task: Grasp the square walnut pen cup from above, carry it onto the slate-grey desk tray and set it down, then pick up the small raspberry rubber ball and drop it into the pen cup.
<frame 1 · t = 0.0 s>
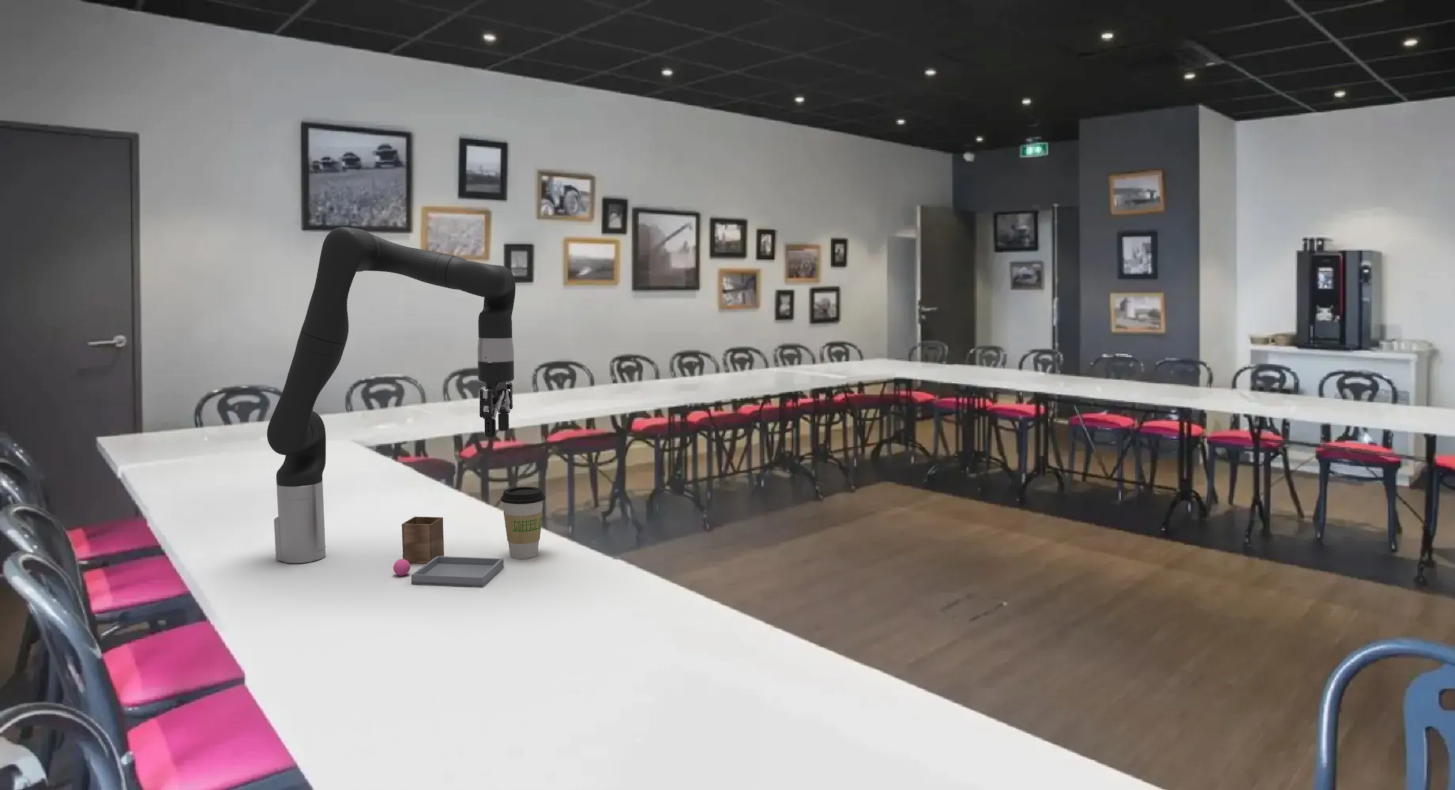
hand: (497, 433, 191), 29 cm above the table, fingers open, 8 cm apart
tray: (459, 575, 186), on the table
ball: (401, 567, 186), point 2 cm above the table
pen cup: (423, 559, 197), on the table
coffee cup: (523, 555, 202), on the table
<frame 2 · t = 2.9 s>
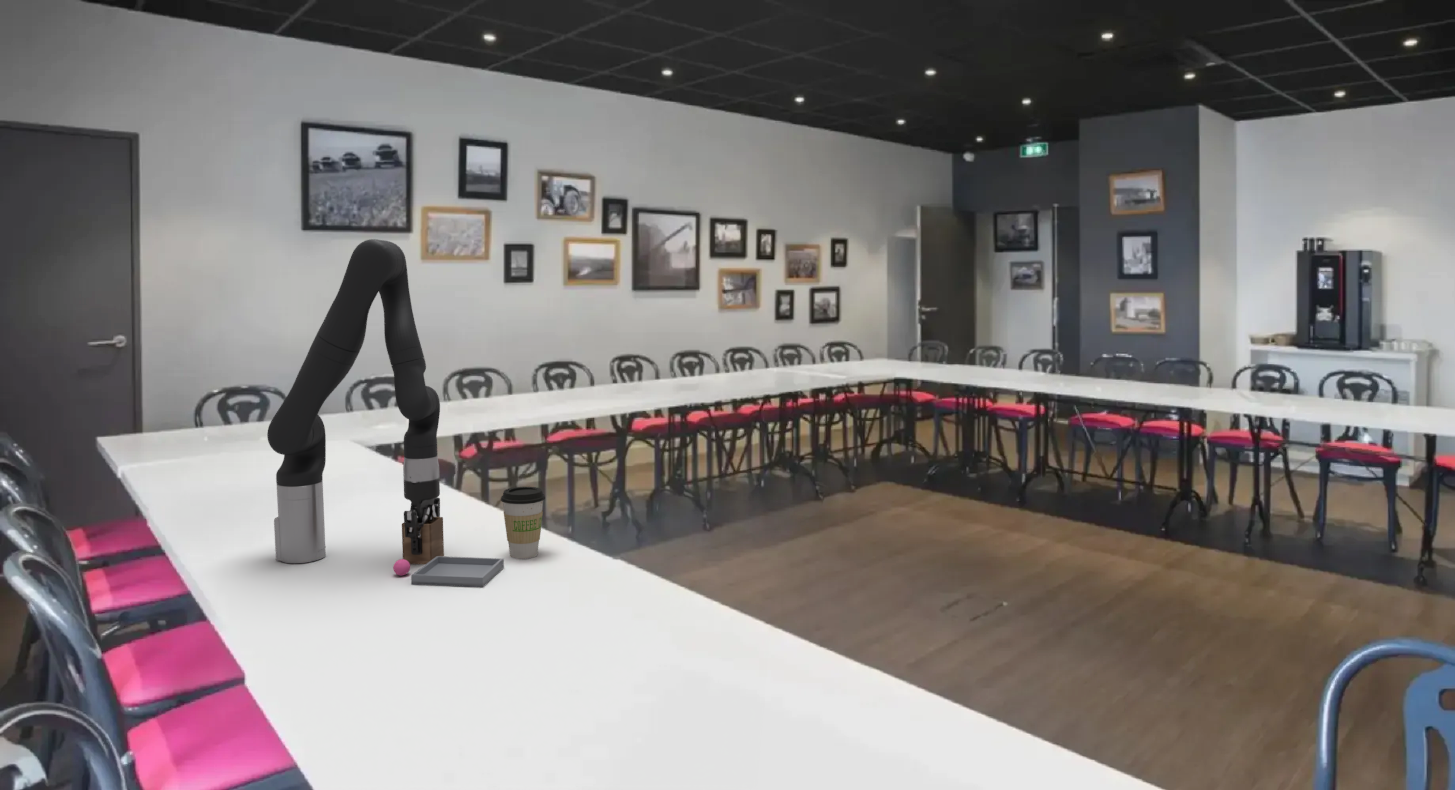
hand: (423, 549, 197), 2 cm above the table, fingers closed on pen cup, 6 cm apart
pen cup: (423, 559, 197), on the table, touching gripper
everything else where it was.
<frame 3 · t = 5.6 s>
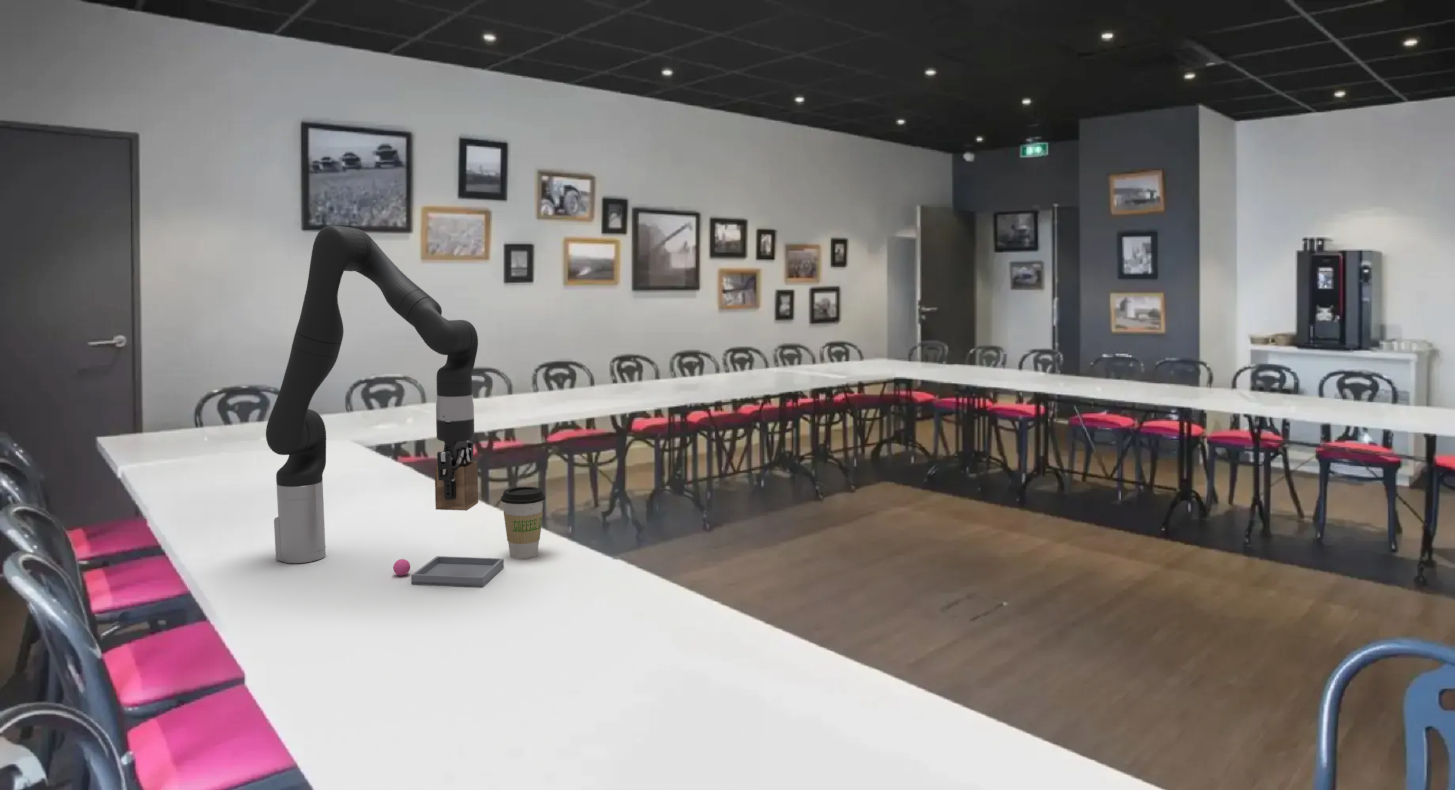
hand: (457, 495, 184), 17 cm above the table, fingers closed on pen cup, 6 cm apart
pen cup: (457, 506, 185), point 15 cm above the table, touching gripper
everything else where it was.
when the fingers open (4 cm above the table, at t = 8.6 s): pen cup stays where it is, resting on tray.
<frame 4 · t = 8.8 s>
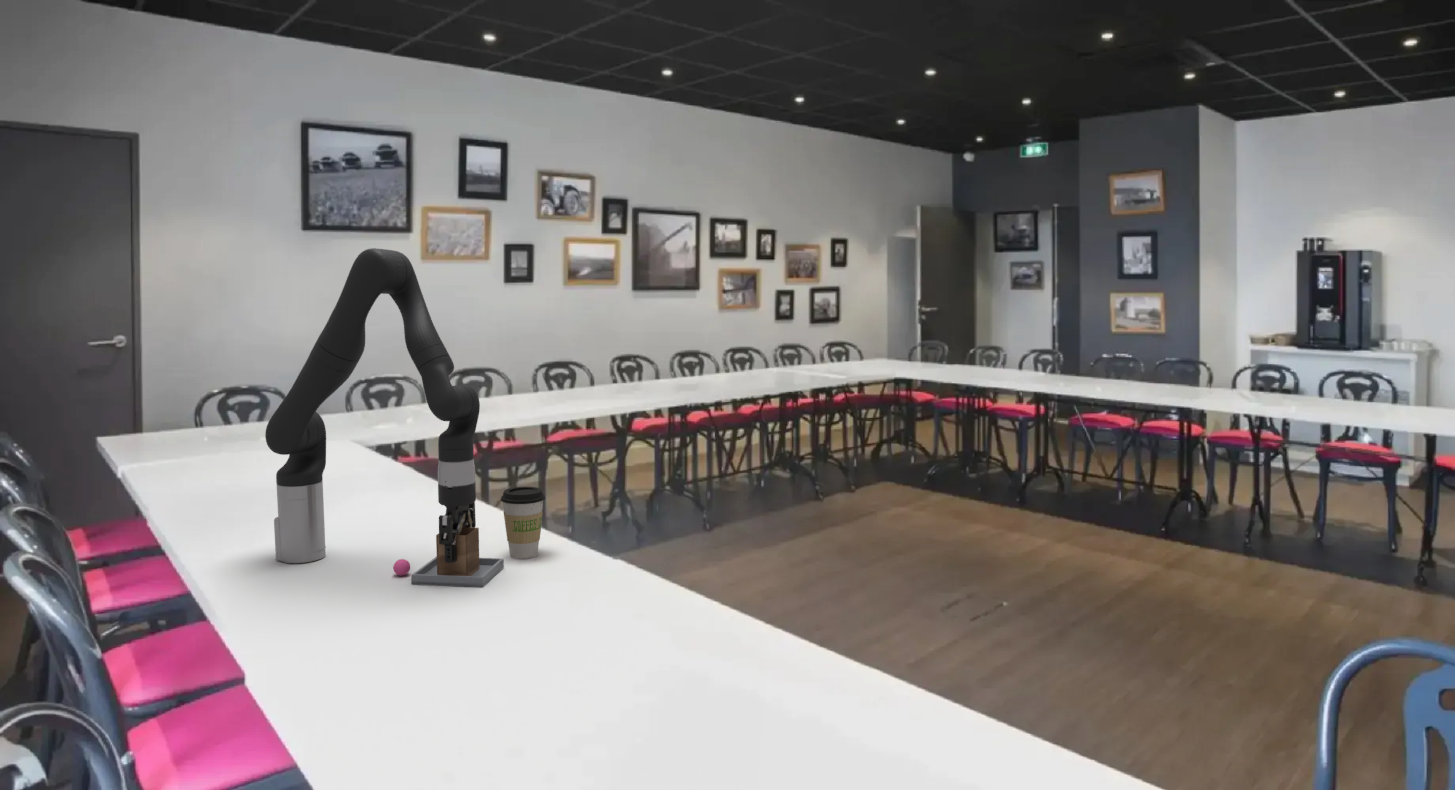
hand: (458, 556, 186), 4 cm above the table, fingers open, 8 cm apart
pen cup: (458, 572, 186), point 1 cm above the table, touching tray
everything else where it was.
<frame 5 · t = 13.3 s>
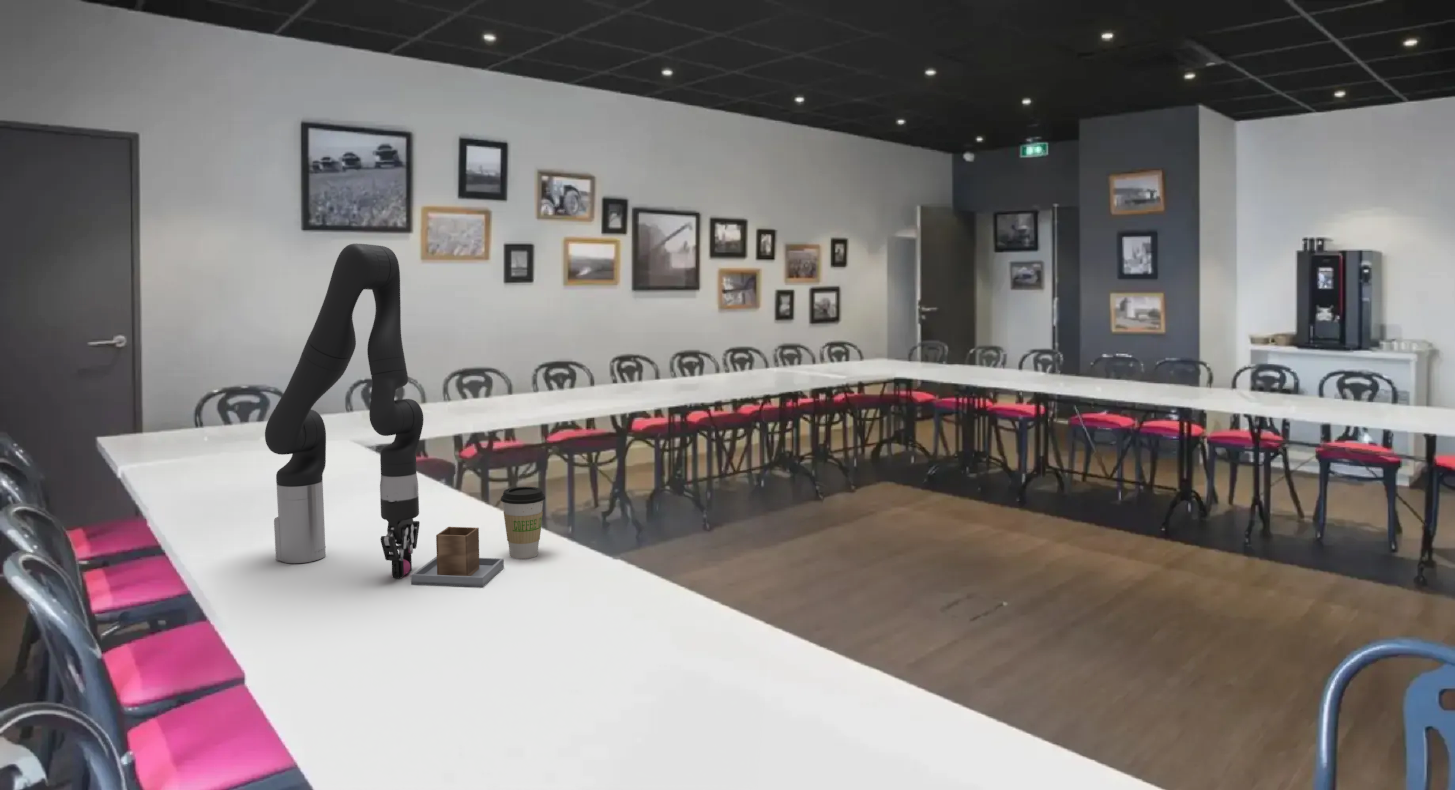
hand: (402, 574, 186), 0 cm above the table, fingers closed on ball, 3 cm apart
ball: (401, 567, 186), point 2 cm above the table, touching gripper
everything else where it was.
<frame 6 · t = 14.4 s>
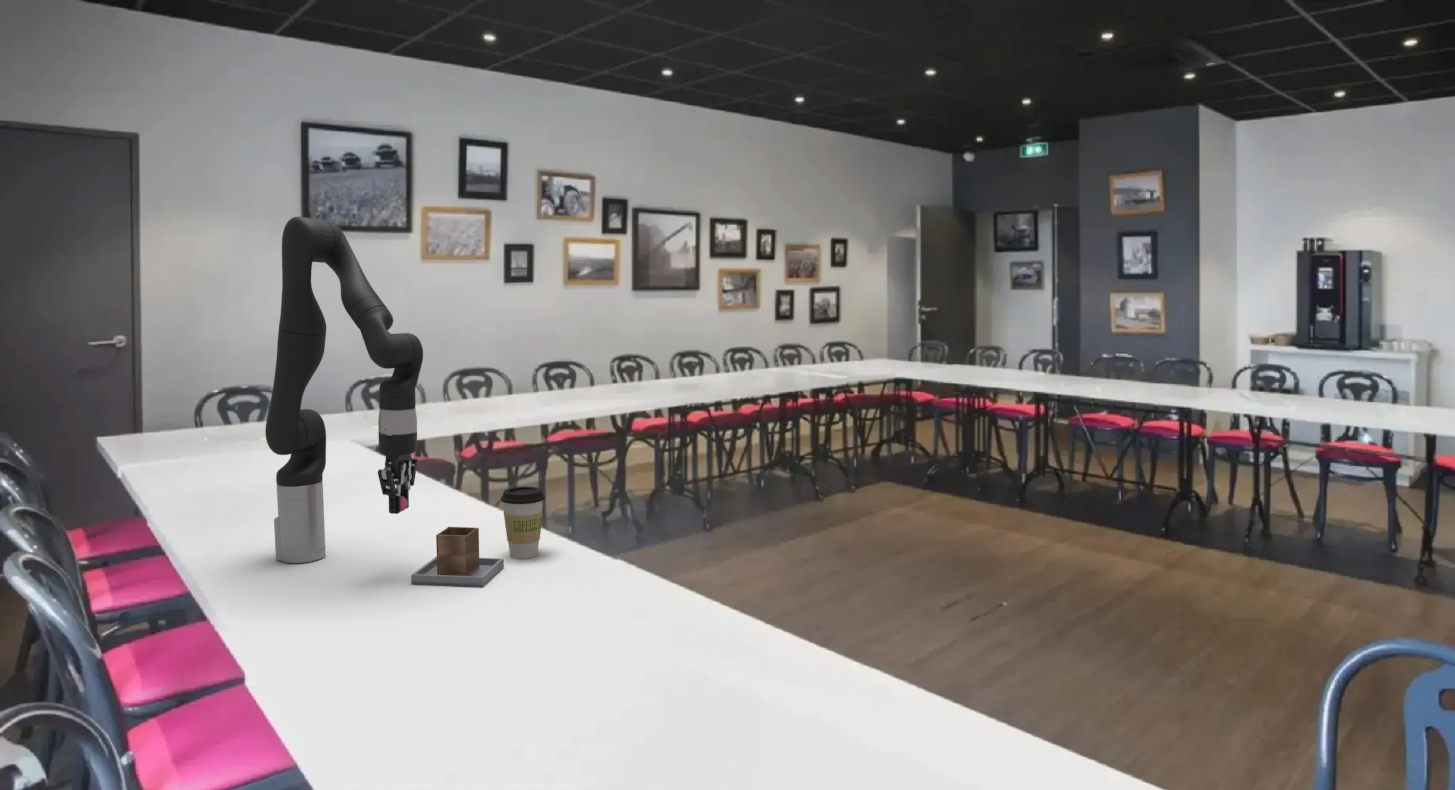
hand: (398, 510, 185), 14 cm above the table, fingers closed on ball, 3 cm apart
ball: (399, 503, 185), point 15 cm above the table, touching gripper
everything else where it was.
when the fingers open (13 cm above the table, at t = 15.7 s): ball drops 12 cm, resting on pen cup.
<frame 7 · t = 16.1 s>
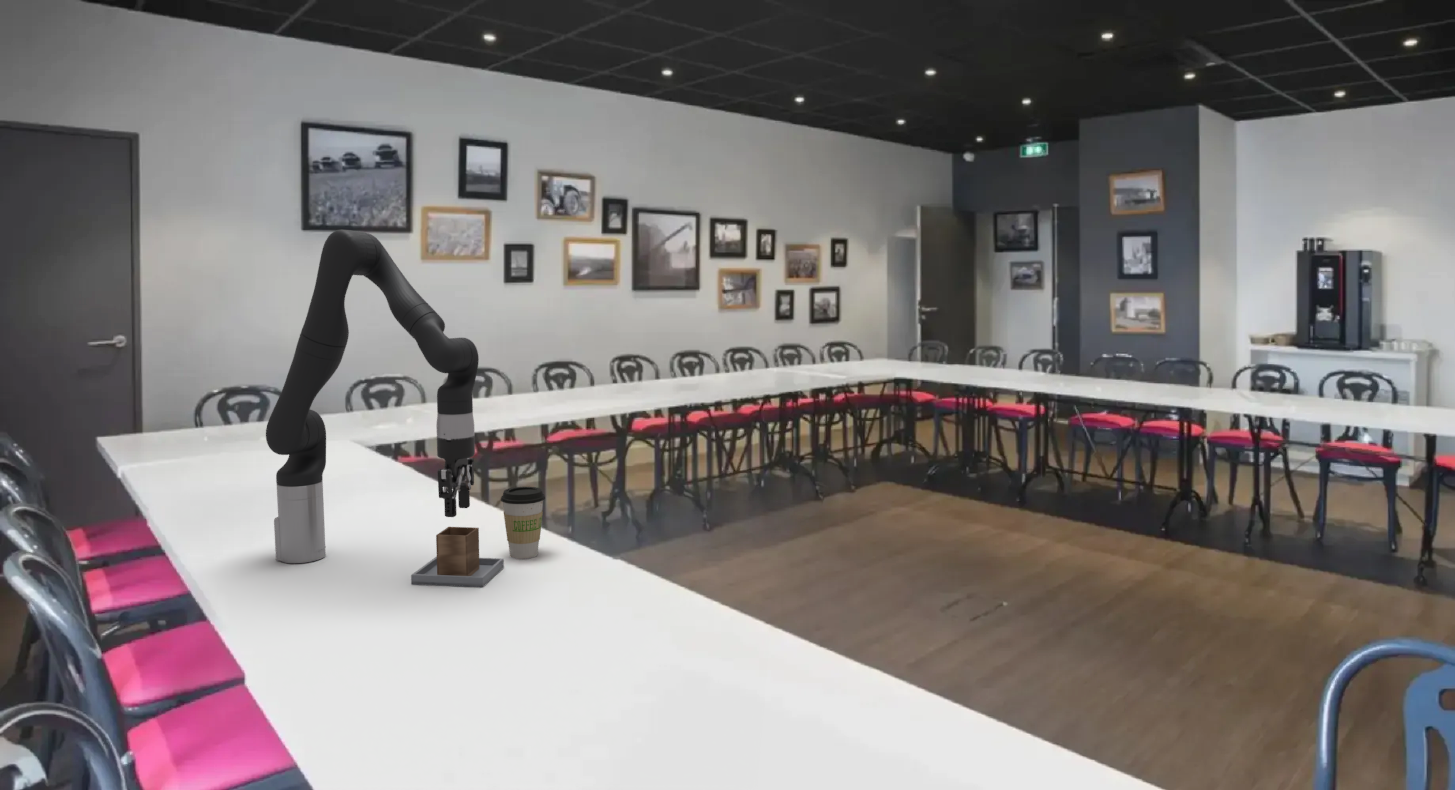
hand: (457, 511, 185), 14 cm above the table, fingers open, 7 cm apart
ball: (458, 561, 186), point 3 cm above the table, touching pen cup
pen cup: (458, 572, 186), point 1 cm above the table, touching ball, tray
everything else where it was.
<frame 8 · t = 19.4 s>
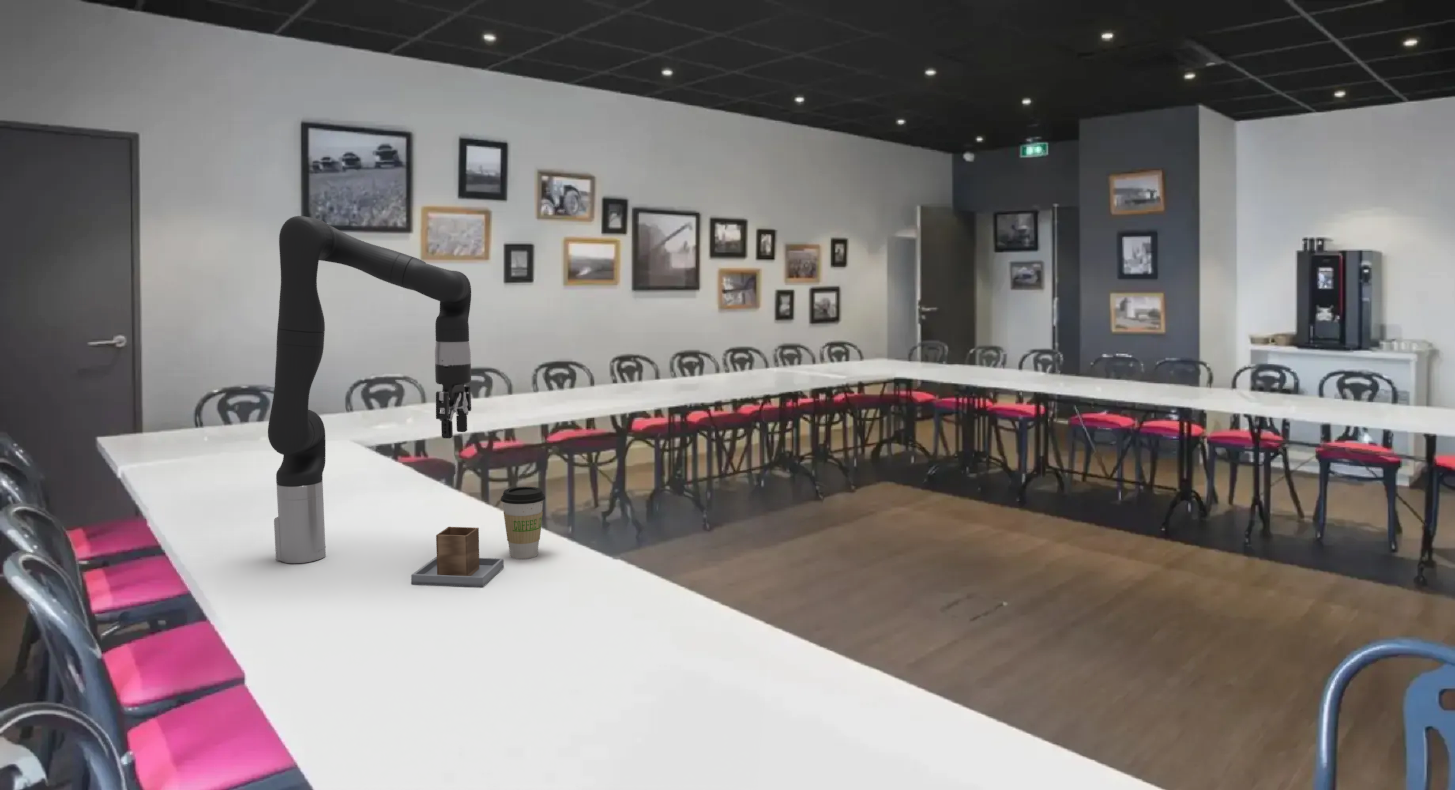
hand: (454, 434, 195), 28 cm above the table, fingers open, 8 cm apart
ball: (458, 560, 186), point 3 cm above the table, tilted 13°, touching pen cup
everything else where it was.
at the end: pen cup inside the target area on the tray (0.1 cm from its centre), point 0.6 cm above the tray's base; pen cup tilted 0°; ball 0.3 cm off-centre on the pen cup, point 2.5 cm above the pen cup's base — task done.
